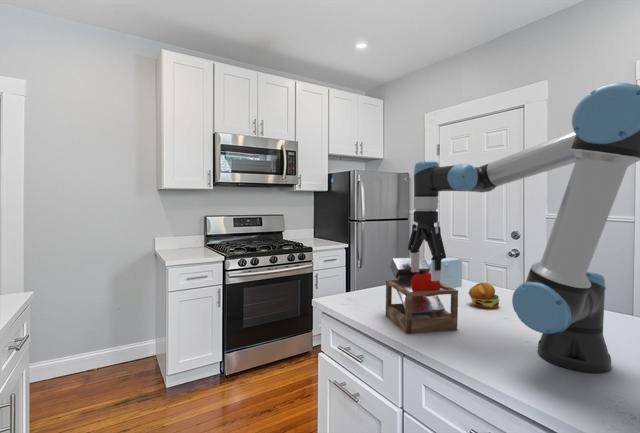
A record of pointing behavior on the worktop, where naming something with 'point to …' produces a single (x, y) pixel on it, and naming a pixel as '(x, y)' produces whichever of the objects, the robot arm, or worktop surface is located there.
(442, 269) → the light blue box
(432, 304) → the trapdoor
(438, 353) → the worktop surface
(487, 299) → the cheeseburger
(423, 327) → the frame
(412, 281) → the tomato
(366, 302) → the worktop surface
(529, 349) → the worktop surface
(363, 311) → the worktop surface
